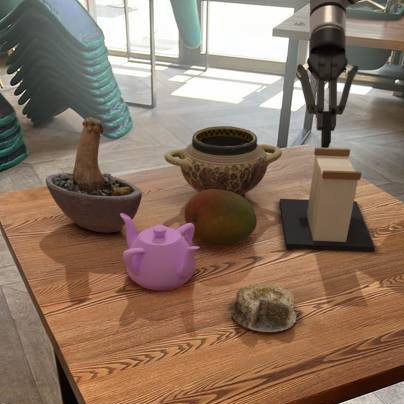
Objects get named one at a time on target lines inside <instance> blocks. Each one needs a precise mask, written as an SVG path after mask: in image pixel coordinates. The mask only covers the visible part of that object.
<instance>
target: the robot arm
mask: <svg viewBox="0 0 404 404" xmlns="http://www.w3.org/2000/svg"><path fill="white" fill-rule="evenodd" d="M361 1H362V0H309V31H308V34H309V35H308V38H309V40H308V58H307V60H306V62H305V63H303V64H301V63H300V64H299V63H298V65H297V67H296V72H295V76H296V77H297V79H298V80H299V82H300V85H301V90H302V93H303V98H304V102H305V107H306V110H307V113H308V115H314V116H315V119H316V131H317V132H318V131H319V132H321V134H320V135H321V136H320V148H330V144H331V143H332V132H334V131H335V130H336V127H337V116H339V115H340V116H342V115H344V112H345V110H346V109H345V108H346V106H347V103H348V99H349V95H350V92H351V88H352V84H353V81H354V79H355V78H356V77H357V74H358V72H359V69H360V68H359V66H358V65H353V66H352V65H351V64H349V60H348V58H347V55H346V51H347V50H346V48H347V46H346V44H347V43H346V40H347V39H346V38H347V36H346V34H347V26H346V25H347V20H346V19H347V8H348V7H350V6H352V5H355V4H358V3H360V2H361ZM309 72H310V74H311V75H312V77H313V78H314V79H315V80H316V81H315V86H316V94H315V95H316V97H315V96H314V93H313V89H312V85H311V80H310V75H309ZM344 72H345V73H344ZM343 73H344V77H345V78H346V79H345V82H344V85H343V88H342V93H341V96H340V99H339V104H338V79H339V78H340V76H341V75H342V74H343ZM325 82H328V83H327V84H328V85H327V86H328V110H325ZM315 98H316V100H315ZM315 101H316V102H315Z"/></svg>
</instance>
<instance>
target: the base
mask: <svg viewBox="0 0 404 404" xmlns="http://www.w3.org/2000/svg"><path fill="white" fill-rule="evenodd" d="M361 179H362V171H359V170H358V171H357V170H355V168H354V167H353V168H351V167H320V168H319V174H318V181H317V188H316V195H315V201H314V208H313V215H312V222H311V228H310V226H309V222H308V217H307V210H308V203H309V199H306V198H305V199H304V198H303V199H300V198H299V199H297V198H279V202H278V203H279V210H280V216H281V217H280V218H281V223H282V231H283V238H284V243H285V249H291V250H314V251H315V250H318V251H319V250H320V251H344V252H370V253H371V252H375V248H376V246H375V244H374V241H373V239H372V237H371V234H370V232H369V229H368V227H367V224H366V222H365V219H364V216H363V214H362V212H361V209H360V207H359V204H358V201H357V200H355V197H356V192H357V187H358V186H357V185H358V182H359V181H361Z"/></svg>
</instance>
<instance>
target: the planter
mask: <svg viewBox="0 0 404 404" xmlns="http://www.w3.org/2000/svg"><path fill="white" fill-rule="evenodd" d="M81 125H82V126H83V127H82V131H81V135H80V137H79V141H78V145H77V148H76V154H75V161H74V166H73V170H72V172H61V173H53V174H50V175H48V176H47V177H46V178H45V184H46V188H47V189H48V191H49V194H50V195H51V197H52V199H53V201H54V202H55V204H56V205H57V206H58V208H59V209H60V210H61V211H62V213H63V214H64V215H65V216H66V217H67V218H68V219H69V220H71V221H73V222H74V223H75V224H76V226H79V227H80V228H83V229H85V230H89V231H92V232H97V233H105V234H106V233H108V234H111V233H117V232H120V231H121V230H123V228H124V226H126V225H125V222H124V220H123V219H122V217H121V216H120V213H124V214H126V215H128V216H129V217H130V218H131V220H132V221H133V220H134V218H135V217H136V215H137V213H138V210H139V208H140V205H141V202H142V197H143V191H142V189H140V188H139V187H138V186H137V185H135V184H134V183H132V182H130V181H127V180H125V179H122V178H119V177H116V176H113V175H111V173H109V172H104V173H102V171H101V169H100V166H99V149H100V140H101V134H102V133H104V126H103V124H102V121H101V120H100V119H98V118H95V117H92V116H88V117H85V119H84V120H83V121H82V123H81Z"/></svg>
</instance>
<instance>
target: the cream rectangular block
mask: <svg viewBox="0 0 404 404" xmlns="http://www.w3.org/2000/svg"><path fill="white" fill-rule="evenodd" d="M313 154H314V162H313V167H312V168H313V170H312V176H311V183H310V190H309V197H308V200H309V203H308V210H307V217H308V222H309V226H310V228H311V222H312V215H313V208H314V201H315V195H316V188H317V181H318V174H319V168H320V167H351V168H354V166H353V165H352V162H351V160H350V158H349V157H350V154H351V148H344V147H343V148H342V147H328V148H321V147H314V153H313Z"/></svg>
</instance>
